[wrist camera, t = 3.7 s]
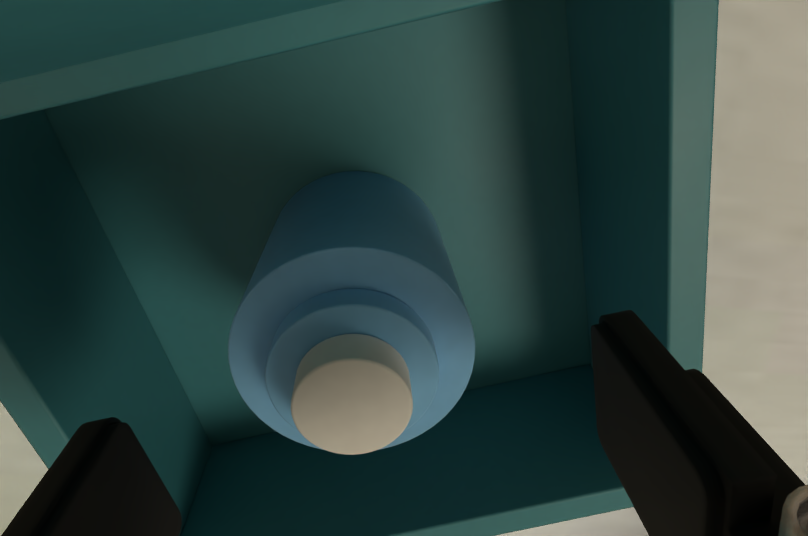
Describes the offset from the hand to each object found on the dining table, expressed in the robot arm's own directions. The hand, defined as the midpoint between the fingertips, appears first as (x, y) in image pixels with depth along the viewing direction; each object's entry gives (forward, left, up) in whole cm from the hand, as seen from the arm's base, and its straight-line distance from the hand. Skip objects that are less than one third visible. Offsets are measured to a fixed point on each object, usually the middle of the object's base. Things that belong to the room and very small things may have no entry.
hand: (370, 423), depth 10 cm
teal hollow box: (0, 0, -10) cm, 10 cm away
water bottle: (0, 0, -9) cm, 9 cm away
